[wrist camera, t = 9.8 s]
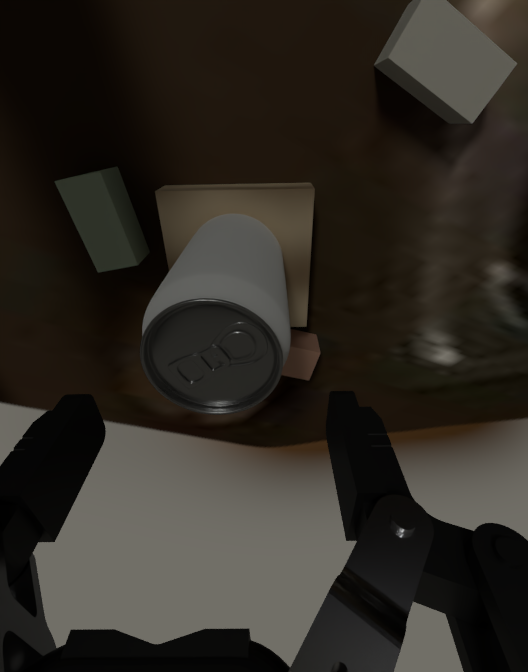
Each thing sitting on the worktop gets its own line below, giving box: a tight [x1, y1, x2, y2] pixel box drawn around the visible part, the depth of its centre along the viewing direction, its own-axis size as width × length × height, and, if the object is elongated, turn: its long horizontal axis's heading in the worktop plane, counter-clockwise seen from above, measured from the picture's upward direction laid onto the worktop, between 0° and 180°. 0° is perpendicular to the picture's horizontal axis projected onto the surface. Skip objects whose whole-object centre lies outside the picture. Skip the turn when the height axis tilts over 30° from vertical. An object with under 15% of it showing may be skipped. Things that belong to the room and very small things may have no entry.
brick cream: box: [374, 0, 517, 124], centre depth 18 cm, size 6×3×3 cm
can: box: [140, 214, 291, 415], centre depth 18 cm, size 6×6×12 cm
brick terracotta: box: [281, 329, 321, 380], centre depth 29 cm, size 6×3×3 cm, turn 76°
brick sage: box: [54, 166, 150, 273], centre depth 23 cm, size 6×3×3 cm, turn 11°
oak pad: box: [155, 183, 315, 327], centre depth 25 cm, size 10×10×2 cm
